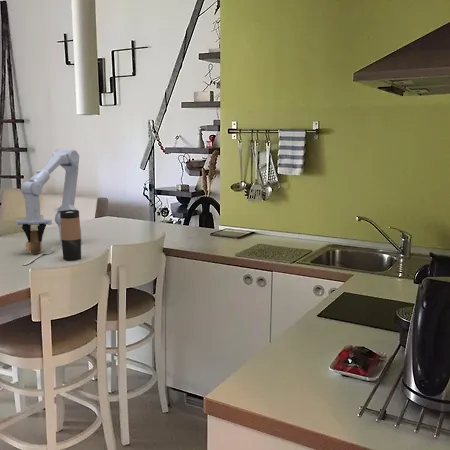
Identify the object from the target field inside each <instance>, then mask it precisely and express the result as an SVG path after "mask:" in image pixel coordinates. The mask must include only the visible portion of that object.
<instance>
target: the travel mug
mask: <svg viewBox="0 0 450 450" xmlns="http://www.w3.org/2000/svg"><path fill="white" fill-rule="evenodd" d="M60 220H61V239H62V247H61V249H62V258H63V260H64V261H65V262H75V261H79V260H82V243H81V239H82V233H81V234H80V228H81V222H80V220H81V219H80V211H79V210H78V209H77V210H64V211H61V212H60Z"/></svg>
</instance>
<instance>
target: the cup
mask: <svg viewBox="0 0 450 450" xmlns="http://www.w3.org/2000/svg"><path fill="white" fill-rule="evenodd" d="M42 242H43V240H42V241H41V242H40V246H41V250H42V249H43V245H42ZM25 246H26V248H25V249H26V251H28V252H31V245H30V242H28V240H27V241H26V242H25Z"/></svg>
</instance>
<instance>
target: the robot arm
mask: <svg viewBox="0 0 450 450" xmlns="http://www.w3.org/2000/svg"><path fill="white" fill-rule="evenodd" d="M79 163H80V154H79V153H78V151H77V150H76V149H74V148H72V149H61V148H58V149H56V150H54V152H53V153H52V154H51V158H50V160H49V161H48V162H47V164H46V165H45V166H44V167H43V168H42V169H37V170H36V171H35V173H34V174H33V176H32V177H30V178H29V179H28V181H24V182H23V183H22V185H21V188H20V192H21V194H22V195H23V199H24V204H25V206H24V207H25V219H17V220H15V221H14V222H15V226H21V229H22V230H23V232H24V234H25V236H26V238H27V241H28V242H30V231H32V226H36V227H37V230H38V233H39V242H41V241H42V242H43V236H44V232H45V229H46V227H47V225H53V222H52V221H53V220H52V219H43V218H41V205H40V203H41V202H40V195H41V193H42V190H43V189H44V188H43V187H44V186H45V184H46V183H48V181H49V180H50V178H51V176H50V174H52V173H53V172H54V171H55V170H56V169H57V168H58V167H59V166H60V167H61V168H62V169H64V171H65V174H64V175H65V176H64V185H63V191H62V201H61V205H60V206H59V207H58V208H57V209H56V213H55V215H54V221H55V224H56V225H57V227H58V229H59V231H58V232H59V245H58V246H57V247H60V248H62V239H61V220H60V212H61V211H64V210H78V209H77V208H76V206H75V201H76V193H77V183H78V175H79ZM80 234H81V235H82V228H81V227H80ZM82 239H83V238H81V244H82V243H83V241H82Z"/></svg>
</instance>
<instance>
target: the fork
mask: <svg viewBox="0 0 450 450" xmlns="http://www.w3.org/2000/svg"><path fill="white" fill-rule="evenodd" d="M55 249H56V247H55V246H50V247H48V249H47V250H46V251H44V252H42V253H40V254H37V256H35V257H33V258H32V259H29V260H28V261H26V262H25V263H23V264H22V265H23V266H28V265H29V264H31V263H32V262H34V261H36V260H37V259H38V258H39V257H41V256H42V255H50V254H51V253H53V251H54V250H55Z"/></svg>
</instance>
